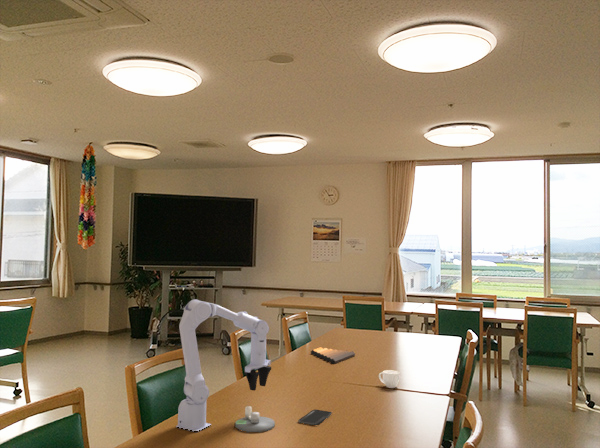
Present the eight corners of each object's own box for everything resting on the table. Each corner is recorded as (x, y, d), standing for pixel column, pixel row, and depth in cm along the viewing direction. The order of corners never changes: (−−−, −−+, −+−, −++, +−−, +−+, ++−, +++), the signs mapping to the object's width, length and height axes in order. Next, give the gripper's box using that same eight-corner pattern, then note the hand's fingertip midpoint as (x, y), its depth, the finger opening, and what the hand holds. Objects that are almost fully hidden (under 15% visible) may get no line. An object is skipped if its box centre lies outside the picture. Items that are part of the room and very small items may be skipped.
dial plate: (227, 428, 176) (227, 424, 176) (249, 416, 188) (249, 413, 188) (260, 435, 169) (260, 432, 169) (282, 423, 181) (282, 420, 181)
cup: (395, 390, 226) (395, 374, 227) (375, 386, 232) (375, 371, 233) (402, 386, 233) (402, 371, 233) (382, 382, 239) (382, 368, 239)
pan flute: (335, 365, 277) (355, 357, 298) (335, 358, 277) (355, 351, 298) (297, 359, 290) (318, 352, 311) (297, 353, 290) (318, 346, 312)
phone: (297, 420, 182) (314, 409, 195) (297, 423, 182) (314, 411, 195) (317, 424, 179) (333, 412, 192) (317, 427, 178) (333, 415, 192)
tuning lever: (260, 422, 178) (260, 411, 178) (253, 423, 176) (253, 413, 177) (250, 415, 185) (250, 405, 185) (243, 417, 183) (243, 406, 184)
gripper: (256, 356, 182) (255, 394, 181) (277, 349, 194) (276, 385, 194) (240, 353, 185) (239, 391, 184) (262, 347, 198) (261, 382, 197)
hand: (257, 387), depth 189 cm, fingers open, 6 cm apart
